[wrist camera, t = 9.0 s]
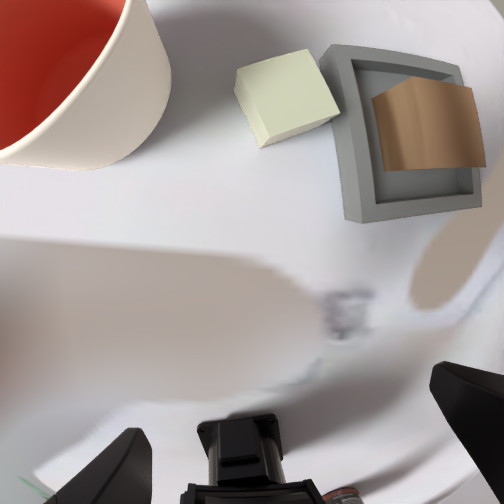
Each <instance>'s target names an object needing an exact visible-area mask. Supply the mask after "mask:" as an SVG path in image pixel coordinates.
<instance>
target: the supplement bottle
mask: <svg viewBox="0 0 504 504" xmlns="http://www.w3.org/2000/svg"><path fill="white" fill-rule="evenodd" d="M322 498H323V499H324V501H325V503H326V504H364V502H363V500H362V498H361V496H360V495H359V492H358V491H357V490H355V489H353V488H346V489H339V490H336V491H334V492H331V493H329V494H327V495H325V496H323V497H322Z"/></svg>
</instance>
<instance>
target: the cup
mask: <svg viewBox="0 0 504 504" xmlns="http://www.w3.org/2000/svg"><path fill="white" fill-rule="evenodd" d="M170 90H171V67H170V62H169V59H168V56H167V53H166V51H165V48H164V46H163V43H162V41H161V38H160V36H159V33H158V31H157V28H156V26H155V23H154V21H153V18H152V16H151V13H150V10H149V8H148V5H147V3H146V0H0V164H9V165H22V166H34V167H45V168H55V169H64V170H73V171H89V170H95V169H99V168H103V167H106V166H108V165H111V164H113V163H115V162H117V161H119V160H121V159H123V158H124V157H126V156H127V155H128V154H130V153H131V152H133V151H134V150H135V149H136V148H137V147H139V146H140V145H141V144H142V143H143V142H144V141H145V140H146V138H147V137H148V136H149V135H150V134H151V132H152V131H153V130H154V128H155V127H156V125H157V124H158V122H159V120H160V118H161V117H162V115H163V112H164V110H165V108H166V105H167V102H168V99H169V95H170Z"/></svg>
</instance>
